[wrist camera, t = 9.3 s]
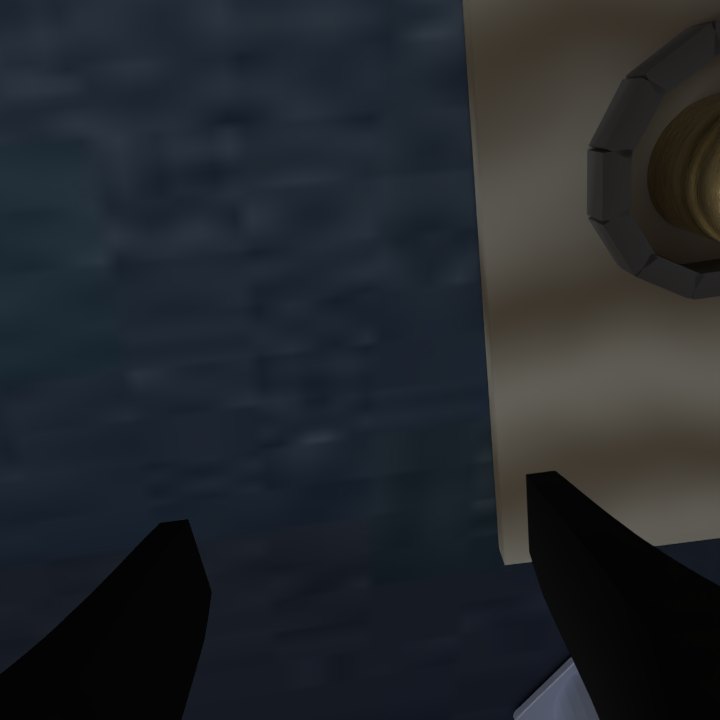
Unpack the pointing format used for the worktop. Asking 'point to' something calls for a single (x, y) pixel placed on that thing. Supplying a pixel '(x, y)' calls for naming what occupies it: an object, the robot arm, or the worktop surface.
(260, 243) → the worktop surface
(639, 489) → the jig board
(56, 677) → the robot arm
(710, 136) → the brass fitting
